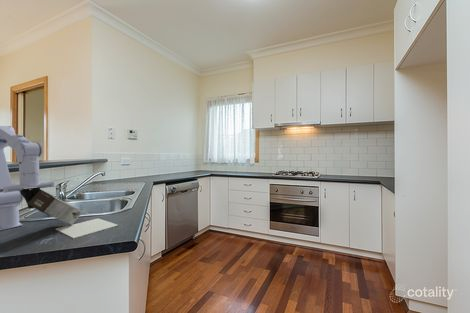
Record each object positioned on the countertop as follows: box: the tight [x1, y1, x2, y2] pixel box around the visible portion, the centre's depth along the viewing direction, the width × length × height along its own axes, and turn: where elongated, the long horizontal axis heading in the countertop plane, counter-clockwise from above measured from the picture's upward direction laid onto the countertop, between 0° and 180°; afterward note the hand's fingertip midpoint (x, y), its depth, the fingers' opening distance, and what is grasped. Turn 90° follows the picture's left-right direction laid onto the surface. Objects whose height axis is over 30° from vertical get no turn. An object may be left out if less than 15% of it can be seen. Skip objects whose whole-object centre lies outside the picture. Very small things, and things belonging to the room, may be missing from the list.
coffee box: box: [28, 189, 83, 225], centre depth 89 cm, size 9×6×16 cm
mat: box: [55, 218, 119, 239], centre depth 90 cm, size 18×16×1 cm
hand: (31, 207), depth 85 cm, fingers closed
